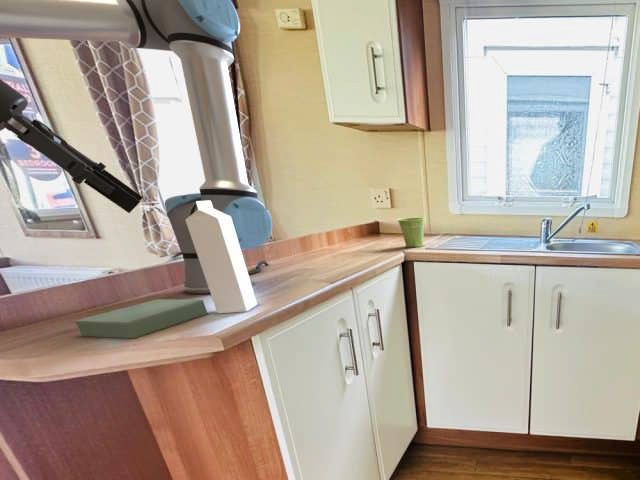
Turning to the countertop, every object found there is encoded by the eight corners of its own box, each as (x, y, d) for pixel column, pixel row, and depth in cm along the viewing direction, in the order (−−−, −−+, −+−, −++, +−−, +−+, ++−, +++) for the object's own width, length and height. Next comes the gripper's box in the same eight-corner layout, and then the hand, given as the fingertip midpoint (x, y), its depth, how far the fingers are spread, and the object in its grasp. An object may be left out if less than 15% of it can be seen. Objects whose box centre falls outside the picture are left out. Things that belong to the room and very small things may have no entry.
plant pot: (395, 248, 179) (391, 220, 174) (410, 244, 189) (406, 217, 184) (420, 248, 176) (416, 219, 171) (433, 244, 186) (430, 217, 181)
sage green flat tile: (162, 312, 93) (157, 299, 91) (207, 313, 90) (202, 299, 89) (82, 336, 79) (74, 320, 77) (133, 338, 76) (126, 322, 75)
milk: (257, 305, 96) (227, 199, 87) (246, 311, 91) (213, 200, 81) (229, 306, 95) (195, 200, 86) (216, 313, 90) (178, 201, 80)
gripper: (-17, 117, 72) (126, 213, 87) (-76, 101, 54) (116, 226, 69) (16, 86, 73) (152, 187, 87) (-32, 60, 55) (149, 193, 70)
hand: (137, 205), depth 78 cm, fingers open, 13 cm apart
